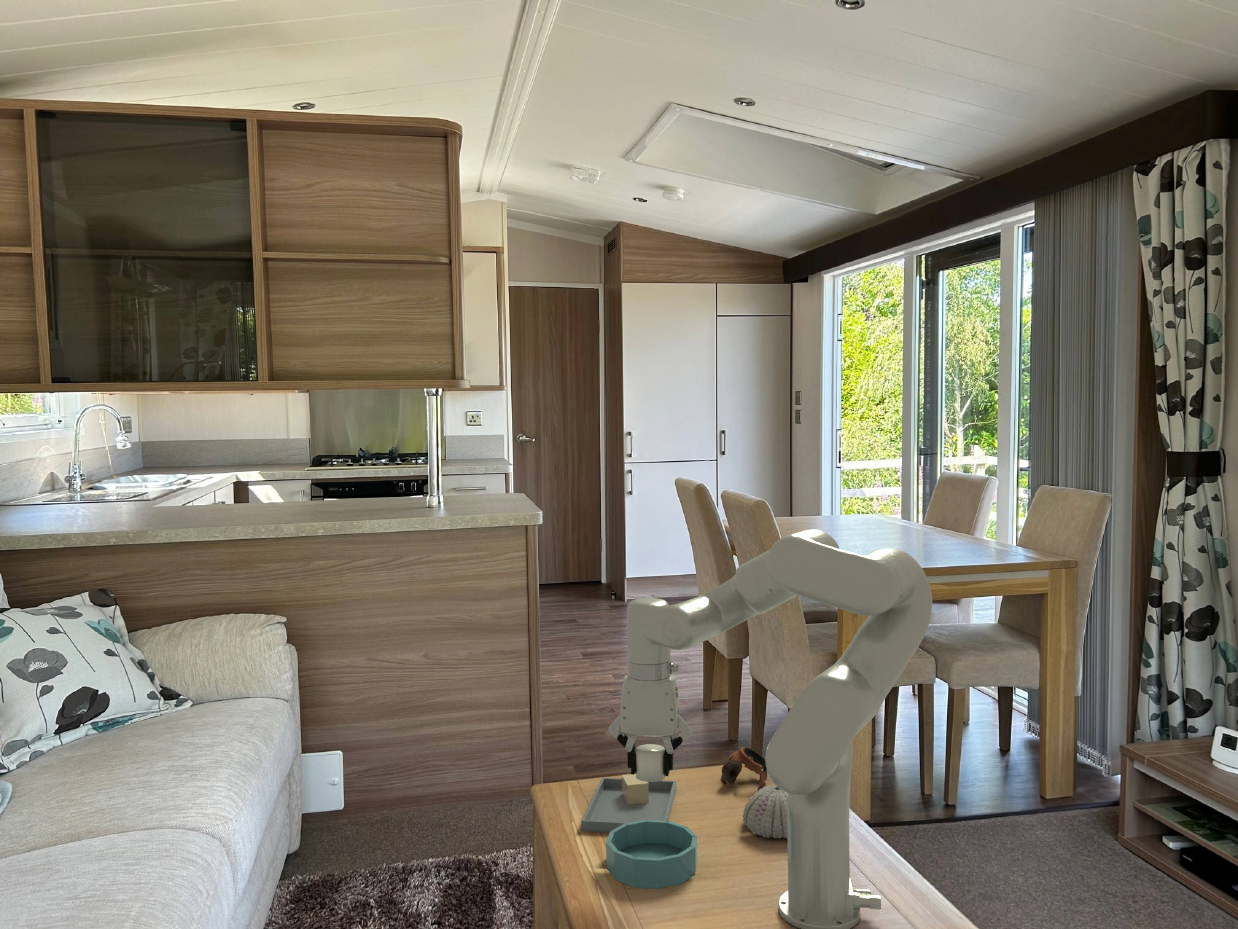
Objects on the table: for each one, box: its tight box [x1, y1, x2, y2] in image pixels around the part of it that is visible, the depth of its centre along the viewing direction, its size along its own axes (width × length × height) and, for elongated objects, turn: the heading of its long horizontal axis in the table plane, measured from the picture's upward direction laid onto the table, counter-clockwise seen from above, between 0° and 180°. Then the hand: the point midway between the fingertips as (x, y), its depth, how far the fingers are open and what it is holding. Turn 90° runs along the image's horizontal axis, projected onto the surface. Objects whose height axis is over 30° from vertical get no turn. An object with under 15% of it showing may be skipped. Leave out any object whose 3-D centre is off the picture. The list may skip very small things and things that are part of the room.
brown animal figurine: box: [720, 746, 768, 788], centre depth 195 cm, size 12×10×8 cm
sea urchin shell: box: [741, 784, 788, 840], centre depth 173 cm, size 13×14×8 cm
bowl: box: [605, 820, 699, 890], centre depth 158 cm, size 16×16×5 cm
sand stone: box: [621, 773, 649, 805], centre depth 187 cm, size 4×6×4 cm
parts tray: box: [580, 777, 678, 833], centre depth 181 cm, size 16×22×2 cm
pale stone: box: [635, 743, 666, 782], centre depth 158 cm, size 5×5×5 cm
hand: (650, 771), depth 158 cm, fingers closed on pale stone, 5 cm apart
